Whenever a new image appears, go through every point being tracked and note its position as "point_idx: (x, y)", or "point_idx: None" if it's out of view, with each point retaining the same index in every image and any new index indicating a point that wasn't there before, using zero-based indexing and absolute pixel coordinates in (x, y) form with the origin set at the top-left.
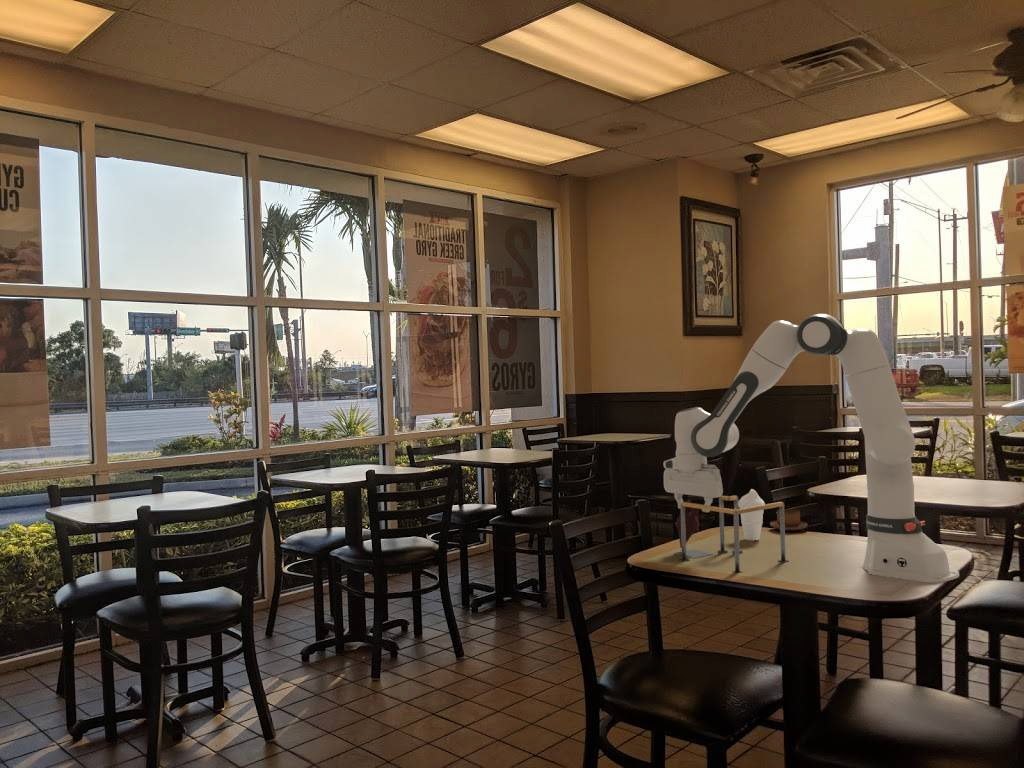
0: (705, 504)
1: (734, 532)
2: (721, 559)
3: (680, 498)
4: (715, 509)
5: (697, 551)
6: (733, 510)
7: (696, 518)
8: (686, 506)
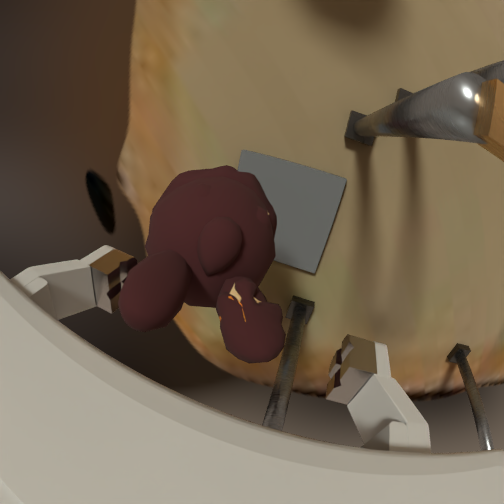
0: (364, 421)
1: (479, 437)
2: (394, 222)
3: (62, 289)
4: None
5: (276, 174)
6: None
7: (256, 254)
8: None
